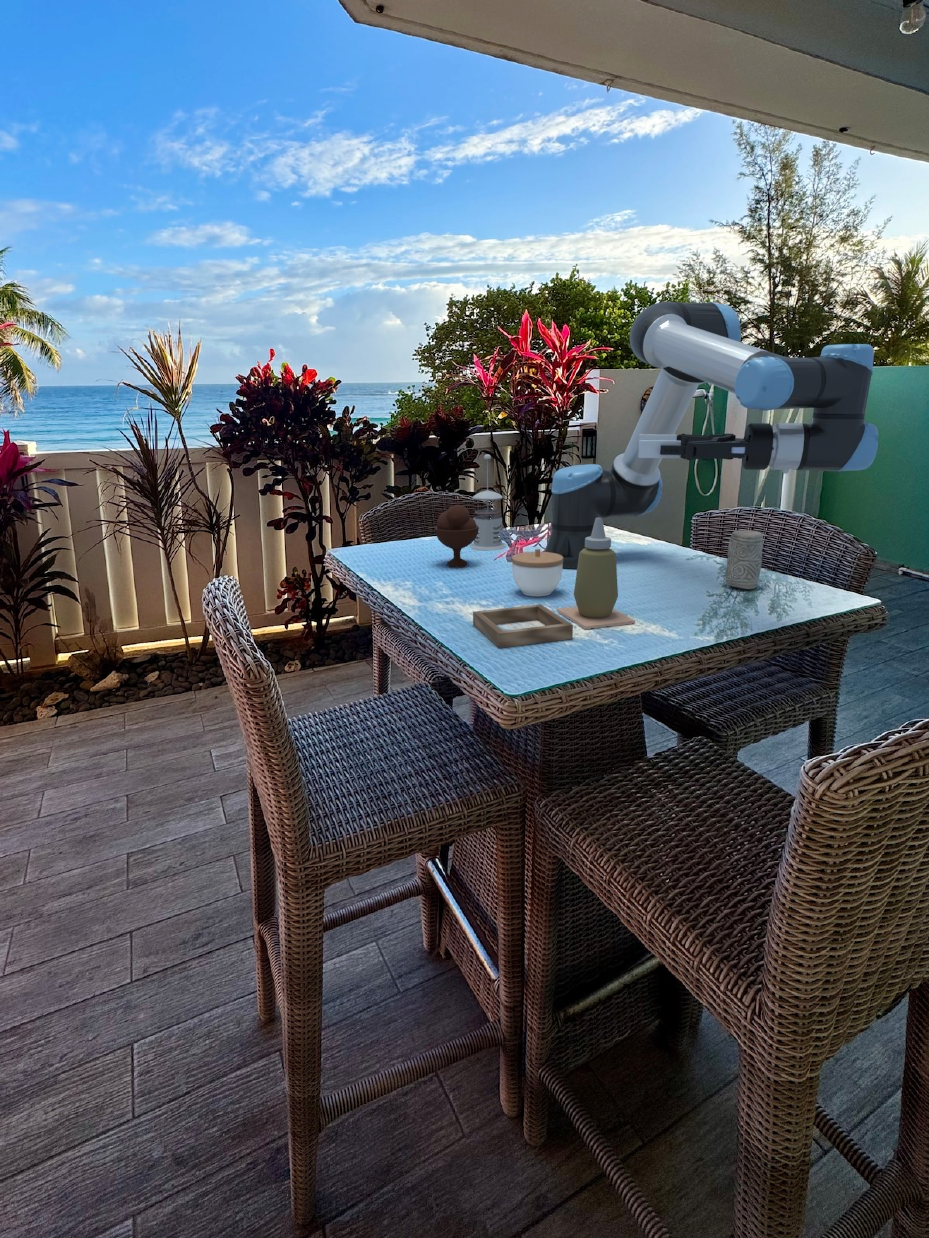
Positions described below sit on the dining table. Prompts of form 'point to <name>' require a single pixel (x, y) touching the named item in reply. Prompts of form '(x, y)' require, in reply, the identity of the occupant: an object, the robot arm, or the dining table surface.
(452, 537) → the ice cream bowl
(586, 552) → the squeeze bottle
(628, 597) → the dining table surface
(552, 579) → the lidded jar
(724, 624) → the dining table surface
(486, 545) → the french press
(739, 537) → the carving
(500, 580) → the dining table surface
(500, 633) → the wooden frame
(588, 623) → the tile
